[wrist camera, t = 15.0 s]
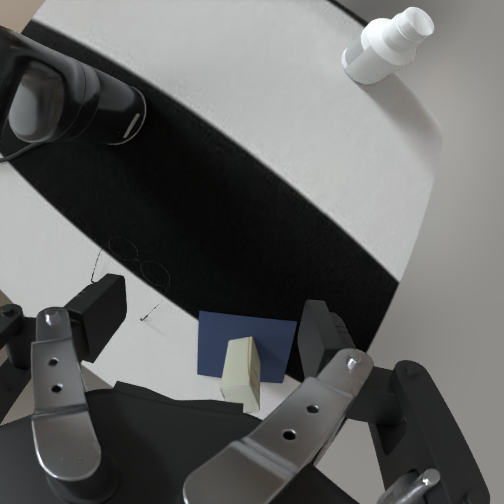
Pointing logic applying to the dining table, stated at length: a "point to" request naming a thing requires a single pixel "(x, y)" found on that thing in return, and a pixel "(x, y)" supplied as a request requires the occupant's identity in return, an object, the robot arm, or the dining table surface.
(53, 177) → the dining table surface
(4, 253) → the dining table surface
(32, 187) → the dining table surface
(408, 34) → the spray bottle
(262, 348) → the cloth
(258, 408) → the cosmetic box
